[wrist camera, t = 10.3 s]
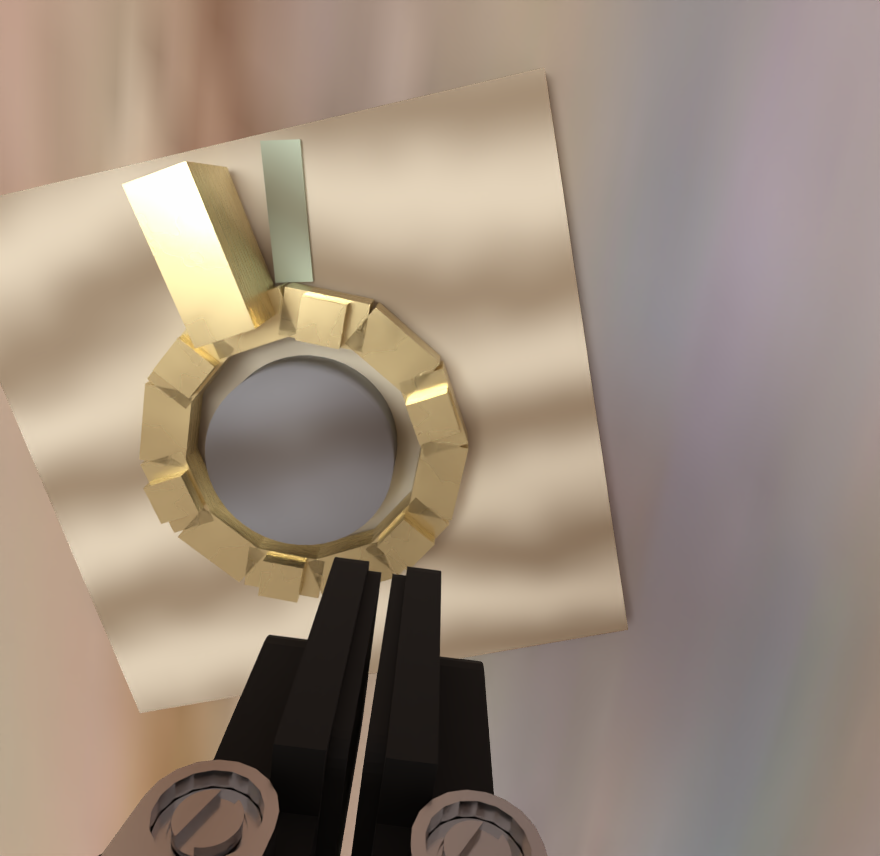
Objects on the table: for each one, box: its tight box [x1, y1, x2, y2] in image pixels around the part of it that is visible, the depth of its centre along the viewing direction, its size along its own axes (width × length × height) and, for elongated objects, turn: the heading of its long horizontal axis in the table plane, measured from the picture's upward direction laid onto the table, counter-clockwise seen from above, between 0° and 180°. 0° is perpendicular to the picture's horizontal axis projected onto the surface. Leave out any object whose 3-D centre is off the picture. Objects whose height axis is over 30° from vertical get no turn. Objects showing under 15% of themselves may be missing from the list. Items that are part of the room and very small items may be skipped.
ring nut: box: [122, 161, 469, 603], centre depth 29 cm, size 14×19×5 cm
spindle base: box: [0, 67, 628, 713], centre depth 31 cm, size 26×26×4 cm
